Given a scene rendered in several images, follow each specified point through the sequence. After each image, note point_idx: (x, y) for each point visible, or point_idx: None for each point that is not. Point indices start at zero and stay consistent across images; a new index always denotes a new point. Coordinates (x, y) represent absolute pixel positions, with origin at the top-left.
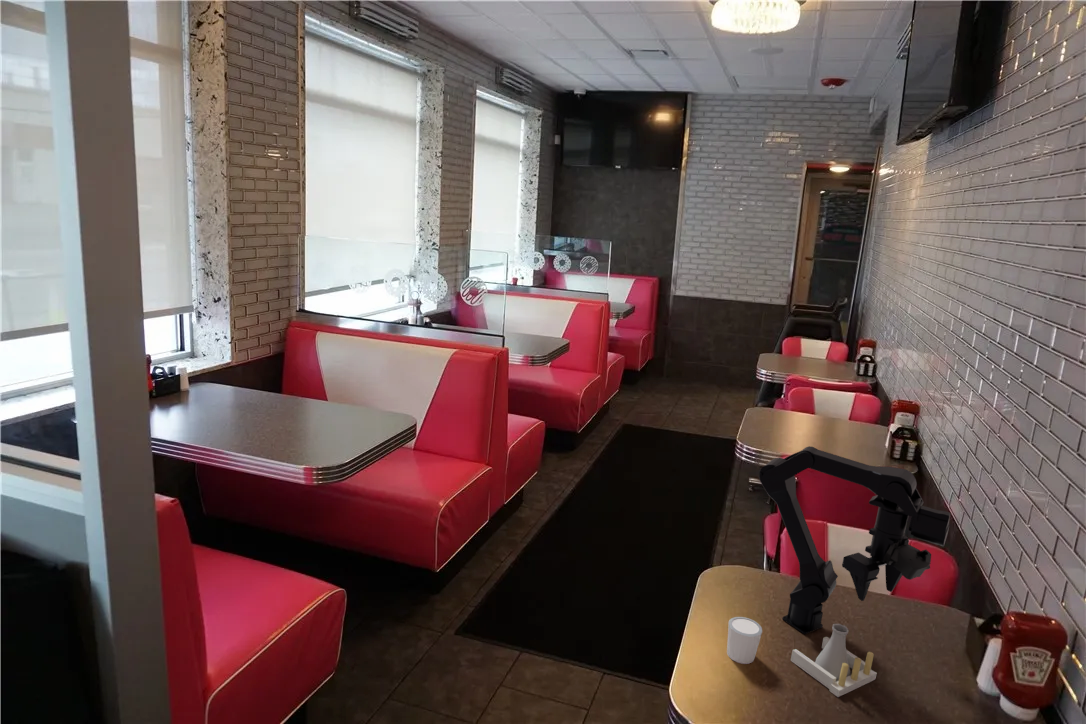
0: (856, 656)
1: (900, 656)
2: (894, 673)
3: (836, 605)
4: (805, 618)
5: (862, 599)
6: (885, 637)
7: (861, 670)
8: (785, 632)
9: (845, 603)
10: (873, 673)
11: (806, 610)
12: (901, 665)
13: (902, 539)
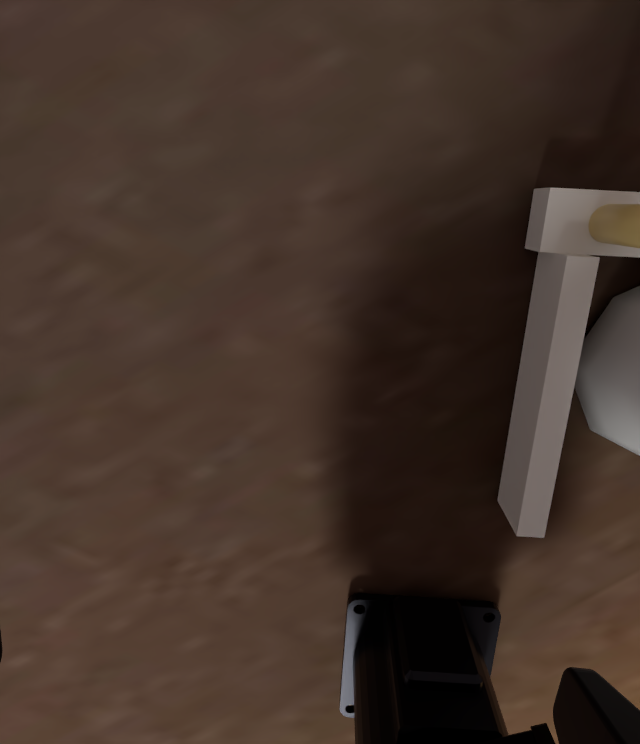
0: (554, 336)
1: (178, 239)
2: (370, 161)
3: (104, 659)
4: (485, 680)
5: (612, 690)
6: (97, 386)
7: (610, 254)
8: (560, 651)
9: (41, 648)
10: (573, 196)
11: (503, 730)
12: (255, 184)
13: None
